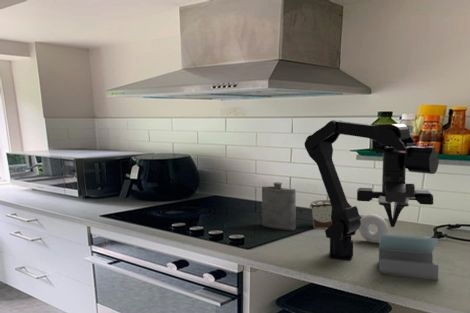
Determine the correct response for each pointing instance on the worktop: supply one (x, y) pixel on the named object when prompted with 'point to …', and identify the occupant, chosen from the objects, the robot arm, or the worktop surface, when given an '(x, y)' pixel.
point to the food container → (321, 213)
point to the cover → (407, 243)
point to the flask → (279, 207)
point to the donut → (378, 222)
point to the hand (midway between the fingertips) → (392, 226)
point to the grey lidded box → (407, 264)
